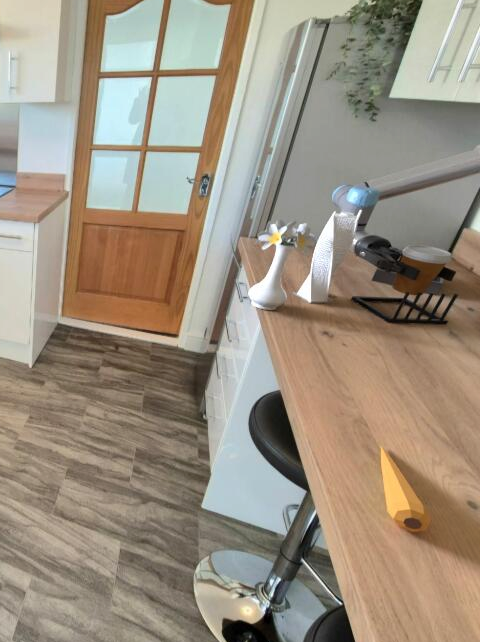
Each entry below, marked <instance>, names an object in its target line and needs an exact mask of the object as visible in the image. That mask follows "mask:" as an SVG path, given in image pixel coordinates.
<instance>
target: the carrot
mask: <svg viewBox="0 0 480 642" xmlns="http://www.w3.org/2000/svg"><path fill="white" fill-rule="evenodd" d="M380 466H381V474H382V482H383V489H384V496H385V497H384V498H385V502H386V503H385V504H386V511H387V514H389V516H390V517H391V518H392V520H393V522H394V523H395V525H397V526H398V527H399V528H400V529H404V530H406V531H408V532H411V533H416V532H417V533H418V532H425V531H427V530H428V528H429V526H430V524H431V522H432V516H431V514H430V513H429V512H428V510H427V508H426V507H425V505H424V504H423V502H422V501H421V499H420V498H419V497H418V495H417V494H416V492H415V490H414V489H413V487H412V486H411V485H410V483H409V481H408V480H407V479H406V477H405V475H404V474H403V472H401V470H400V468H399V467H398V465H397V464H396V463H395V461H394V460H393V458H392V457H391V456H390V455H389V453H388V452H387V451H386V449H385V448H384V447H383V446H382V445H380Z"/></svg>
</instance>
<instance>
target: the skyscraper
mask: <svg viewBox="0 0 480 642" xmlns="http://www.w3.org/2000/svg"><path fill="white" fill-rule="evenodd" d="M340 212H341V211H340ZM340 212H337V211H336V210H335V211H333V213H332V215H331V216H330V218H329V220H328V221H327V223H326V224H325V226H324V228H323V230H322V232H321V234H320V236H319V238H318V239H317V241H316V244H315V247H314V251H313V255H312V259H311V264H310V265H311V266H310V271H309V272H310V273H309V274H308V276H307V278H306V279H305V281H304V282H303V284H302V285H301V287H300V288H299V290H298V291H293V292H292V294H293V295H295V296H296V297H298V298H299V299H302V300H303V301H305V302H307V303H308V304H333V300H332V299H329V293H330V287H331V282H332V276H333V275H334V274H335V273H336V271H337V270H338V269H339V268H340V266H341V265H342V264H343V262H344V261H345V260H346V257H347V256H348V254H349V253H350V252H349V250H350V248H351V246H352V243H353V240H354V237H355V233H356V229H357V224H358V220H359V218H360V215H361V213H362V210H360V211H359V213H358V215H357V216H353V215H354V214H353V213H350V212H341V213H340Z"/></svg>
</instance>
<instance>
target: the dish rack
mask: <svg viewBox="0 0 480 642" xmlns="http://www.w3.org/2000/svg"><path fill="white" fill-rule="evenodd" d="M409 294H410V293H409V292H406V294H405V293H404V295H403V297H390V296H389V297H388V296H384V297H383V296H361V295H359V296H358V295H352V296H351V298H350V300H351V301H352V300H353V301H352V302H354V303H355V304H357V303H358V304H357V305H359V306H360V305H361V306H360V307H362V308H364V309H365V308H366V309H365V310H367V309H368V310H367V311H369V312H370V313H372V314H373V313H374V314H373V315H374V316H376V317H378V316H379V317H378V318H380V319H381V318H382V319H381V320H383V319H384V320H383V321H385V322H386V323H388V324H410V323H414V324H415V325H439V326H440V325H441V326H447V325H448V323H449V320H447V319H445V318H446V316H447V315H448V314H449V312H450V310H451V308H452V306H453V305H454V303H455V301H456V300H457V298H458V296H459V293H454V294H453V296H452V297H451V298H450V301H449V302H448V304H447V306H446V308H445V309H444V312H443V313H442V314H441V316H440V315H438V314H436V312H437V311H438V309H439V308H440V305H441V304H442V302H443V301H444V299H445V297H446V296H447V293H444V292H442V293H441V295H440V297H439V298H438V300H437V302H436V303H435V305H434V308H433V309H432V310H428V309H427V308H428V305H429V303H430V302H431V300H432V298H433V297H434V296H435V295H434V293H430V294H428V296H427V297H426V299H425V302H424V303H423V305H422V306H421V305H420V304H417V303H418V302H419V300H420V298H421V296H422V295H421V294H422V293H420V292H419V293H418V294H417V295H415V297H414V300H410V299H408V297H409ZM366 301H382V302H381V303H394V302H397V304H399V305H398V307H397V309H396V310H395V312H394V315H392V316H390V315H387V314H386V313H384V312H383V311H381V310H379V309H378V308H376V307H374V306H373V305H371V304H369V303H368V302H366ZM404 305H406V306H407V307H409V306H410V307H409V309H408V311H407V312H406V314H405V316H404V317H398V316H399V314H400V313H401V312H402V311H401V310H402V309H403V307H404ZM413 310H415V311H417V312H418V314H417V316H416V317H410V316H411V314H412V312H413ZM423 315H424V316H425V317H428V318H422V316H423Z"/></svg>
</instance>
